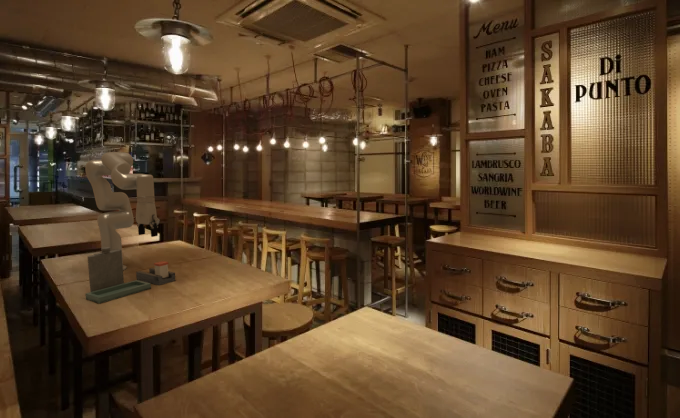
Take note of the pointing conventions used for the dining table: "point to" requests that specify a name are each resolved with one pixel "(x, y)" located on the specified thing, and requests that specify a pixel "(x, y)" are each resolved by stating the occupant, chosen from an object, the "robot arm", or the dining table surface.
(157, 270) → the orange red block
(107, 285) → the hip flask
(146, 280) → the switch panel
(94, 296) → the tray
